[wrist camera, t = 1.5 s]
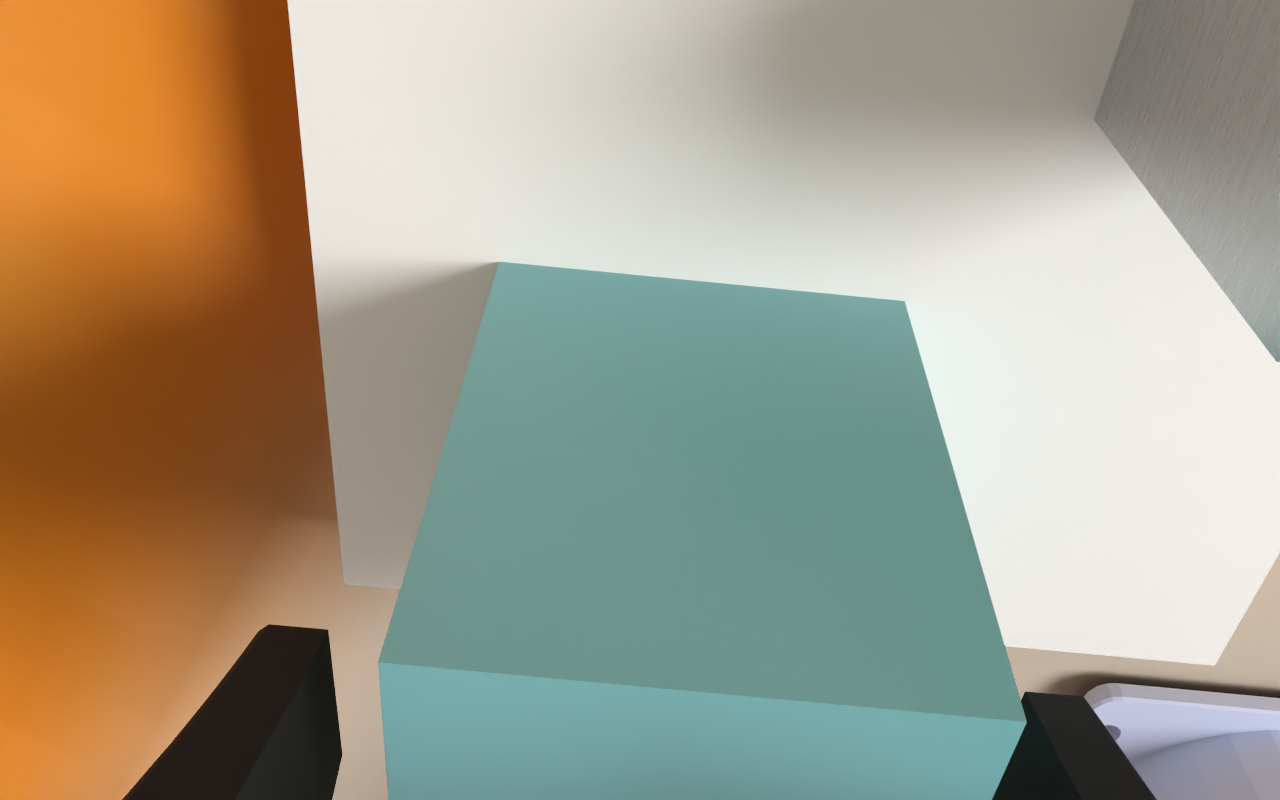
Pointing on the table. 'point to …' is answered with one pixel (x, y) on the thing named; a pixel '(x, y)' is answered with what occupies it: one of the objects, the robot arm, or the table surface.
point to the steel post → (1208, 137)
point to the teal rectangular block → (694, 560)
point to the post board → (807, 261)
